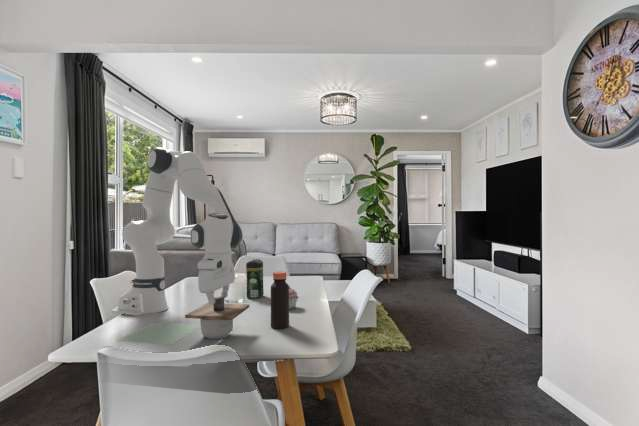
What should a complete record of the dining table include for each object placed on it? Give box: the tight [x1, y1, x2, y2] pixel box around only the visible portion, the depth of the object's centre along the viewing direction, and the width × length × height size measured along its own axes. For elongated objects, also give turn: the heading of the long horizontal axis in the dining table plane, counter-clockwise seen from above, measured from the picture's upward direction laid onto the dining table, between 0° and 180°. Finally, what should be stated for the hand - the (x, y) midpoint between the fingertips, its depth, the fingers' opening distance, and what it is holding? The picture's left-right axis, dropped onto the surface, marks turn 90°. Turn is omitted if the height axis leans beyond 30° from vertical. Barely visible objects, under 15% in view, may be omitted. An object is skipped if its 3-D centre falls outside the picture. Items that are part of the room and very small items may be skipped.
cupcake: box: [289, 285, 299, 310], centre depth 161 cm, size 9×9×10 cm
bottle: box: [270, 270, 290, 330], centre depth 134 cm, size 7×7×20 cm
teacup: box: [199, 319, 234, 340], centre depth 125 cm, size 14×11×8 cm
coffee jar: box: [245, 259, 264, 300], centre depth 182 cm, size 10×8×19 cm
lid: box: [184, 296, 250, 321], centre depth 125 cm, size 16×16×5 cm
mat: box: [116, 321, 201, 345], centre depth 127 cm, size 20×20×1 cm
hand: (218, 300), depth 125 cm, fingers open, 8 cm apart
